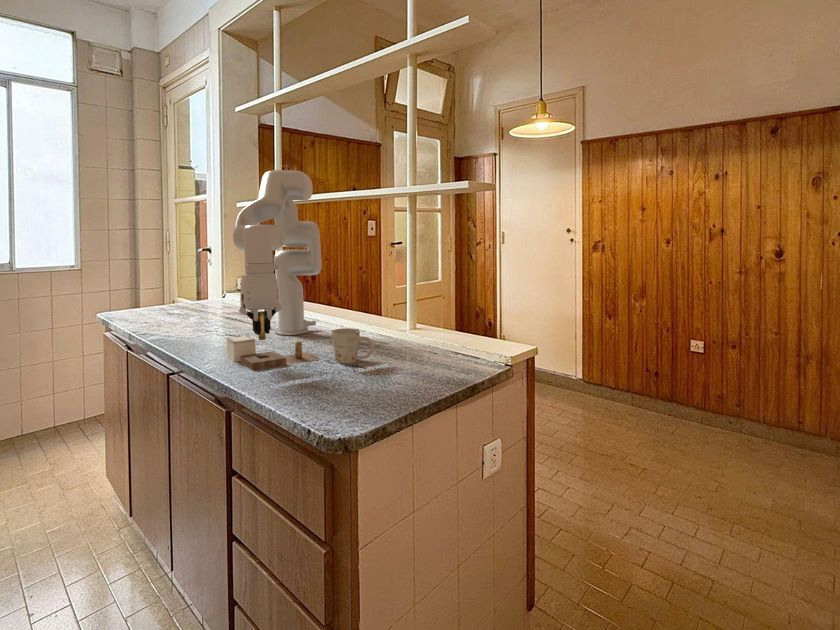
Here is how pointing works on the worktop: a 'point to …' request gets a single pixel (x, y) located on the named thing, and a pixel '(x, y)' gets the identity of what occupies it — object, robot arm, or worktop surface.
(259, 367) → the socket tile
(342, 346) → the mug
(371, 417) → the worktop surface
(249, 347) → the block
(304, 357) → the tile
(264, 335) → the brass pin
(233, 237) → the robot arm
